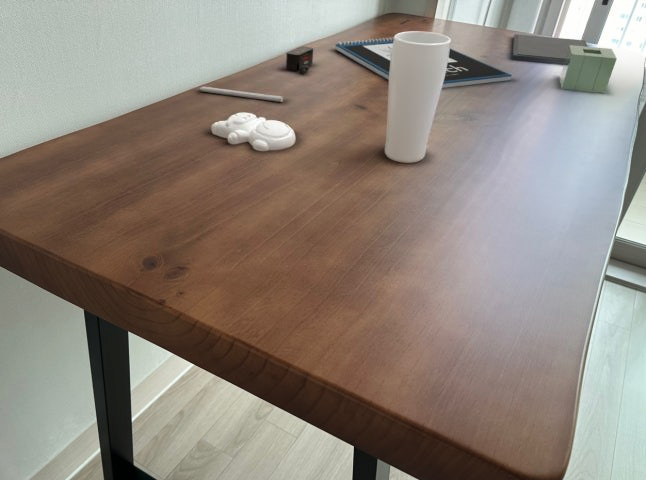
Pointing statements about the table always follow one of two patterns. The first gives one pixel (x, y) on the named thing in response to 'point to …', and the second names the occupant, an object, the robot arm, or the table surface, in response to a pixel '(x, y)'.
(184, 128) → the table surface
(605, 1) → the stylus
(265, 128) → the white animal figurine
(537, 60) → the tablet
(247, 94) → the pencil
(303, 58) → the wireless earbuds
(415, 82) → the drinking glass
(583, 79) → the pen block
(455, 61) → the sketchbook
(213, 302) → the table surface
